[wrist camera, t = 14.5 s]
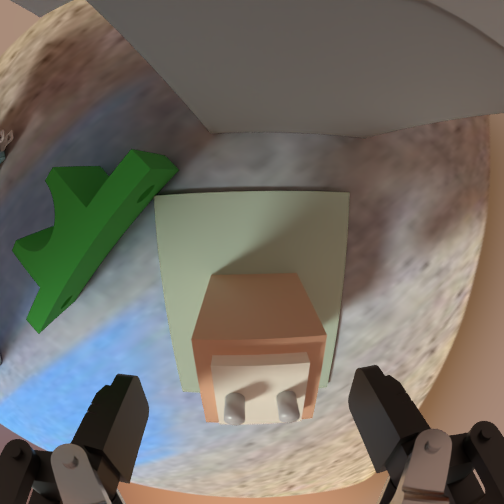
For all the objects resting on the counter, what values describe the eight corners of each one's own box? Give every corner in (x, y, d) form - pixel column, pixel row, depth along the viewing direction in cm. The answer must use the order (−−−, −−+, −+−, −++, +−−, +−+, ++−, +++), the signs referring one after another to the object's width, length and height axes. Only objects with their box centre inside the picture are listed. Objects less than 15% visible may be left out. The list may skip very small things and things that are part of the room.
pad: (183, 388, 17) (182, 391, 17) (155, 195, 13) (153, 195, 13) (325, 384, 17) (326, 387, 17) (347, 192, 14) (349, 192, 13)
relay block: (216, 344, 16) (202, 450, 8) (210, 274, 14) (182, 370, 7) (292, 342, 16) (319, 445, 8) (296, 272, 14) (341, 364, 7)
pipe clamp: (135, 125, 12) (94, 107, 8) (180, 170, 13) (152, 168, 9) (41, 262, 14) (-2, 286, 10) (75, 301, 15) (37, 335, 11)
